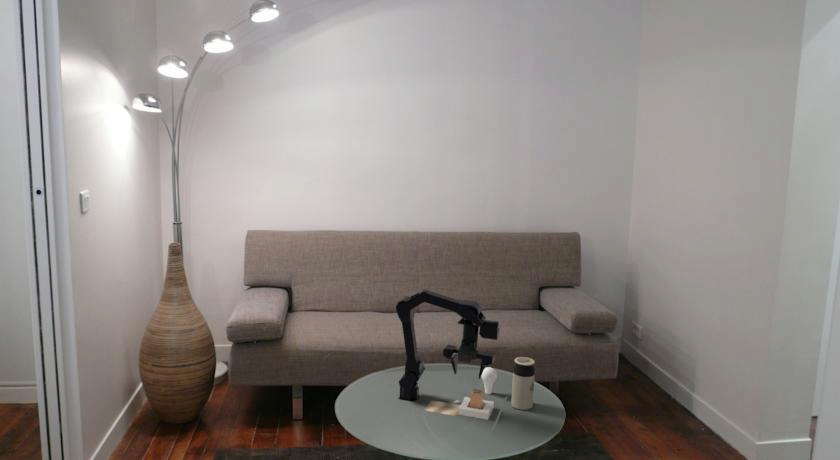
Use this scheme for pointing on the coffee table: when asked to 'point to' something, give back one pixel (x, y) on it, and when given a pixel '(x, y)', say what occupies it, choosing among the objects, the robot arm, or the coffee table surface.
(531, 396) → the travel mug
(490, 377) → the lightbulb
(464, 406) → the socket block
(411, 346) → the robot arm
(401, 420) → the coffee table surface
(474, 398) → the plug
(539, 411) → the coffee table surface
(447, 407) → the tray slab
